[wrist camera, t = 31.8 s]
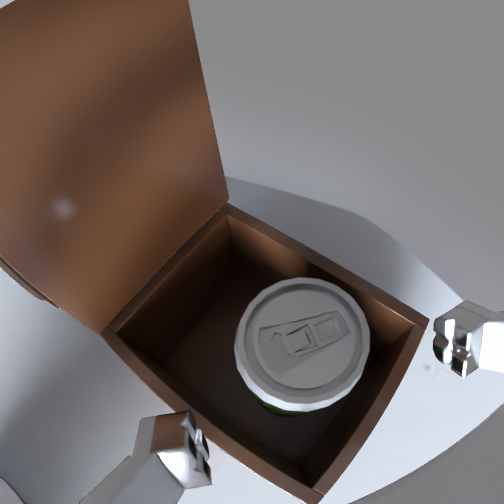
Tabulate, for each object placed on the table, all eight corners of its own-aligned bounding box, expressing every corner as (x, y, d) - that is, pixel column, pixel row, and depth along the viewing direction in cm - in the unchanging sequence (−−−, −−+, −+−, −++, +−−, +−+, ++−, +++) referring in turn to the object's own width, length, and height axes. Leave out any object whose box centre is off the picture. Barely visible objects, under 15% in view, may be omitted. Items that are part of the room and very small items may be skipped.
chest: (381, 357, 21) (430, 319, 14) (298, 477, 17) (314, 507, 9) (239, 268, 27) (226, 201, 20) (152, 367, 22) (98, 334, 15)
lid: (178, -54, 6) (118, -29, 8) (-111, 104, 2) (-86, 97, 4) (230, 199, 19) (179, 174, 21) (98, 336, 14) (61, 287, 16)
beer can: (308, 338, 22) (337, 254, 12) (335, 400, 19) (398, 370, 9) (242, 362, 21) (212, 298, 11) (266, 427, 19) (259, 433, 9)
